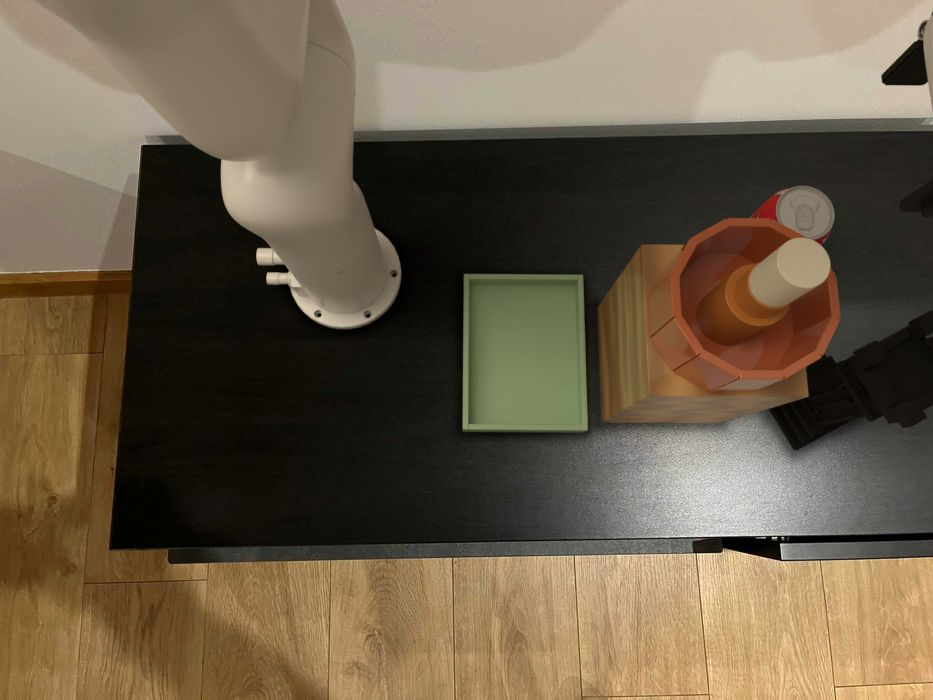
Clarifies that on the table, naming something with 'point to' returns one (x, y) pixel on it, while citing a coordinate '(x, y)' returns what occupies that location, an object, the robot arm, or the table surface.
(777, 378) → the pot
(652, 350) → the stand
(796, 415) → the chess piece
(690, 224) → the table surface
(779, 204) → the soda can
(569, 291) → the tray
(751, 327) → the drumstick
